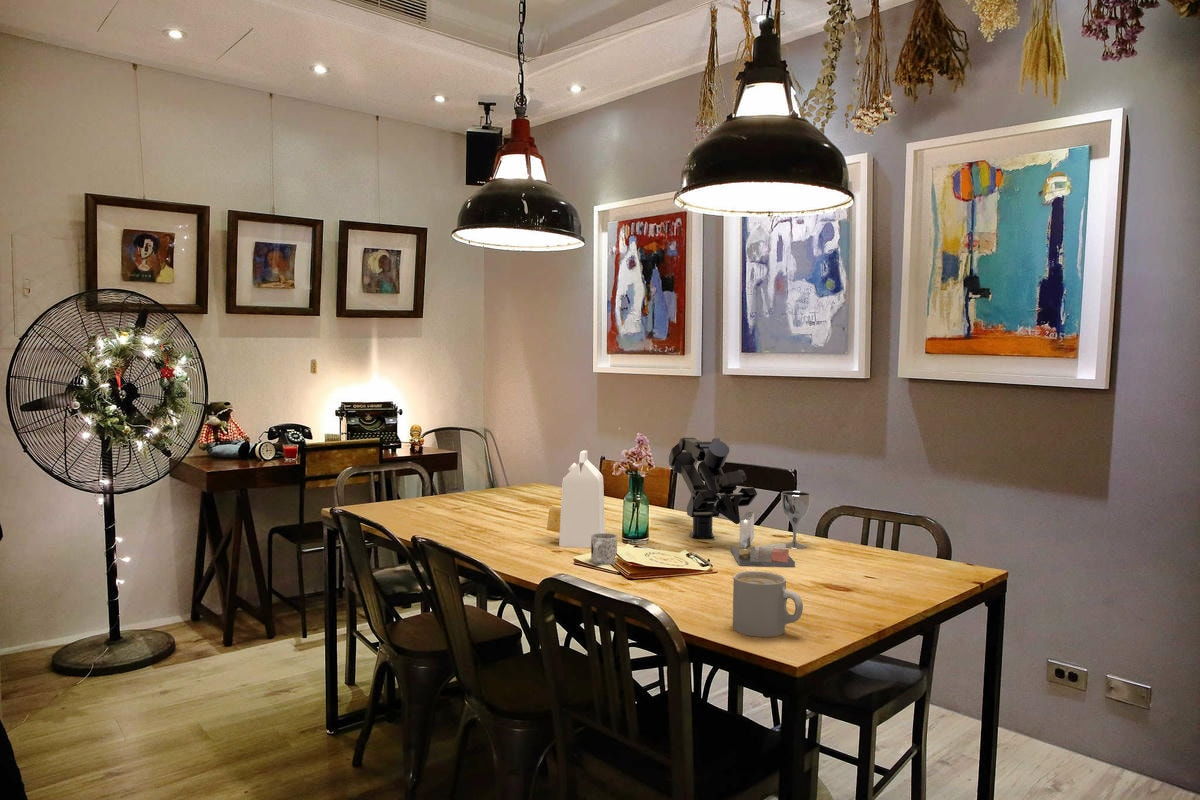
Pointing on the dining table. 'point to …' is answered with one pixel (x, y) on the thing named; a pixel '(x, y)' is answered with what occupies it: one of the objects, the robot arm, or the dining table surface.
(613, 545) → the mug
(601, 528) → the milk
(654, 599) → the dining table surface
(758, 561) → the base
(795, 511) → the wine glass
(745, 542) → the swing bar
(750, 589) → the coffee mug
